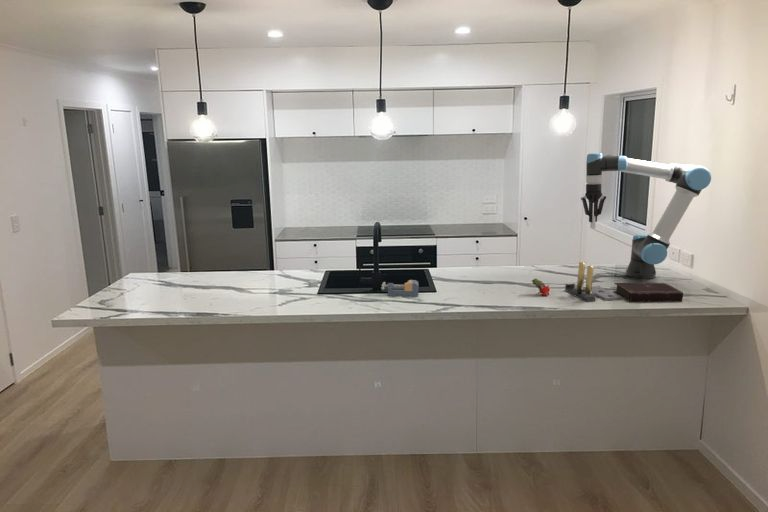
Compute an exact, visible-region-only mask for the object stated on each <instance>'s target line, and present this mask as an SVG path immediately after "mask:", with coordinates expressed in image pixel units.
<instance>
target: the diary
mask: <svg viewBox="0 0 768 512" xmlns="http://www.w3.org/2000/svg"><path fill="white" fill-rule="evenodd" d="M614 284H615V285H616V289H615V290H613V293H615V294H617V295H619V296H622V299H625V300H626V301H628V302H629V303H631V302H632V303H637V302H683V299H684V298H683V297H684V293H683V291H680V290H679V289H677V288H675V287H673V286H672V285H670V284H667V283H665V282H661V283H660V282H646V283H645V282H642V283H641V282H638V283H637V282H614Z"/></svg>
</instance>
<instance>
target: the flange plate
mask: <svg viewBox="0 0 768 512" xmlns="http://www.w3.org/2000/svg"><path fill="white" fill-rule="evenodd" d="M583 288H585V289H586V286H583ZM592 292H593V293H595V297H597V298H599V299H601V300H603V301H619V300H623V297H622V296H620V295H618V294H617V293H615V292H614V291H613V292H612V291H611V290H608V289H606V288H604V287H602V286H599V285H597V286H592Z"/></svg>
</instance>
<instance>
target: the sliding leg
mask: <svg viewBox="0 0 768 512" xmlns="http://www.w3.org/2000/svg"><path fill="white" fill-rule="evenodd" d="M585 270H586V262H583V261H582V262H581V261H579V262H578V271H577V282H576V283H577V285H576V287H574V288H573V292H575V293H581V292H585V288H583V287H584V281H585Z"/></svg>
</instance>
